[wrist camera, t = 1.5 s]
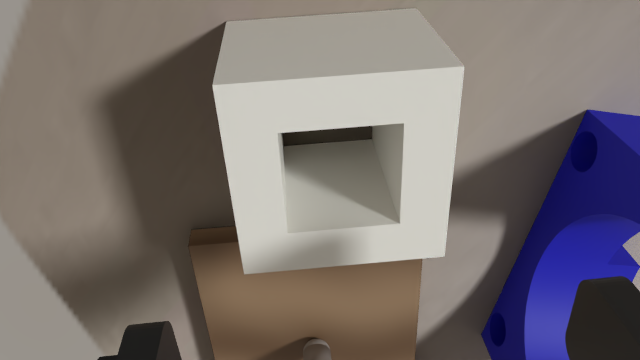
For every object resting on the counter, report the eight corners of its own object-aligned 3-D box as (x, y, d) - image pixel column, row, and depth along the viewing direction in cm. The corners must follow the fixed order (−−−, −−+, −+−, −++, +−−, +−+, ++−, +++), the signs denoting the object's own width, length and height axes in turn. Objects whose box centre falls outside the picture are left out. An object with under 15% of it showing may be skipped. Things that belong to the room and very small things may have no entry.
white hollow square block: (226, 21, 17) (212, 85, 13) (416, 8, 17) (464, 66, 13) (249, 181, 20) (243, 274, 16) (408, 168, 20) (444, 256, 16)
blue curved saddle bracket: (565, 336, 27) (633, 453, 22) (480, 332, 26) (530, 451, 21) (692, 121, 20) (830, 216, 15) (584, 107, 20) (693, 202, 15)
